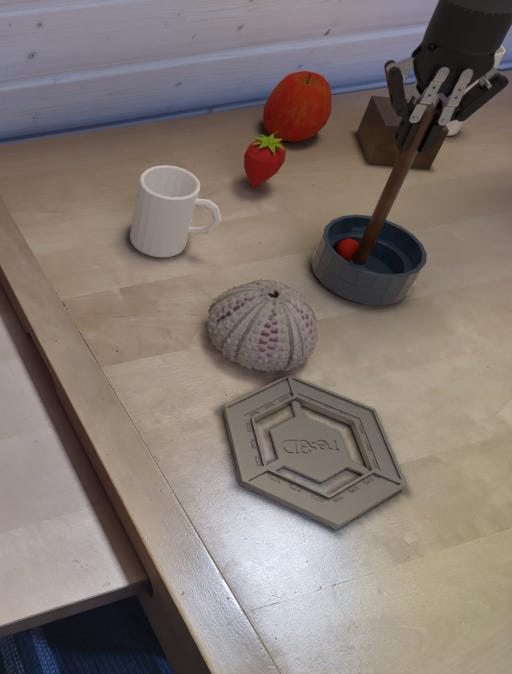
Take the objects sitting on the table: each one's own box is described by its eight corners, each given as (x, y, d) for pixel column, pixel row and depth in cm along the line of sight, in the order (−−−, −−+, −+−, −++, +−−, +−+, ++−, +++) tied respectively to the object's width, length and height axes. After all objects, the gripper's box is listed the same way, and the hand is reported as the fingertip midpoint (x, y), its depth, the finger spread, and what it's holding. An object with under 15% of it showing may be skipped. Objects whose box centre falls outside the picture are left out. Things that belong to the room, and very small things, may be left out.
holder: (413, 138, 125) (431, 100, 120) (429, 169, 118) (449, 130, 113) (356, 133, 125) (371, 95, 120) (368, 163, 119) (385, 125, 113)
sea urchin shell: (289, 398, 83) (312, 351, 77) (183, 350, 87) (197, 302, 82) (324, 332, 91) (347, 285, 85) (225, 291, 95) (240, 243, 89)
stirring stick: (363, 257, 98) (433, 105, 83) (367, 265, 97) (439, 112, 81) (350, 257, 98) (418, 104, 83) (353, 265, 97) (423, 111, 81)
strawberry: (281, 182, 114) (301, 125, 106) (263, 204, 109) (282, 146, 102) (247, 170, 116) (264, 112, 108) (228, 190, 111) (244, 132, 104)
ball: (363, 259, 99) (362, 237, 99) (355, 258, 97) (354, 236, 97) (341, 261, 101) (340, 240, 101) (333, 261, 99) (332, 239, 99)
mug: (198, 275, 97) (215, 216, 90) (120, 244, 101) (130, 185, 94) (220, 245, 102) (237, 186, 95) (144, 216, 106) (155, 158, 99)
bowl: (395, 250, 103) (411, 219, 99) (420, 313, 94) (439, 281, 90) (303, 242, 103) (315, 210, 99) (319, 303, 94) (333, 271, 90)
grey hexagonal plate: (358, 381, 85) (361, 376, 84) (421, 531, 71) (424, 526, 71) (214, 377, 84) (216, 372, 84) (250, 527, 71) (252, 523, 70)
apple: (310, 156, 119) (332, 96, 112) (249, 136, 123) (266, 77, 115) (328, 129, 126) (350, 70, 118) (269, 111, 129) (287, 53, 122)
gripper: (424, 4, 71) (359, 160, 83) (565, 15, 70) (479, 170, 83) (404, -22, 76) (346, 128, 88) (536, -12, 75) (458, 137, 88)
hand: (410, 148), depth 86 cm, fingers closed on stirring stick, 2 cm apart
